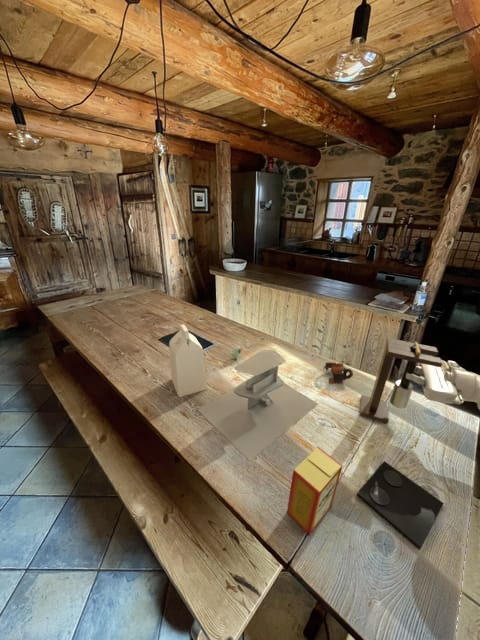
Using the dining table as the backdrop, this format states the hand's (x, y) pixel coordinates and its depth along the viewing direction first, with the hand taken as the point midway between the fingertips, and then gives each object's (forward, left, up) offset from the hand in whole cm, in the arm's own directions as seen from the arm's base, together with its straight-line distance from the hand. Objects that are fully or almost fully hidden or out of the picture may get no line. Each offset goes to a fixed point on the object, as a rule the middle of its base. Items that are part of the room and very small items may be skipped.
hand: (405, 371), depth 87 cm
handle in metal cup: (-1, 0, -13) cm, 13 cm away
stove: (-15, +29, -19) cm, 37 cm away
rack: (+1, +1, -19) cm, 19 cm away
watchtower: (+32, +35, -19) cm, 51 cm away
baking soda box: (-2, +49, -19) cm, 52 cm away
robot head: (+62, +22, -19) cm, 69 cm away
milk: (+59, +49, -19) cm, 79 cm away
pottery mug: (+24, -3, -19) cm, 31 cm away
